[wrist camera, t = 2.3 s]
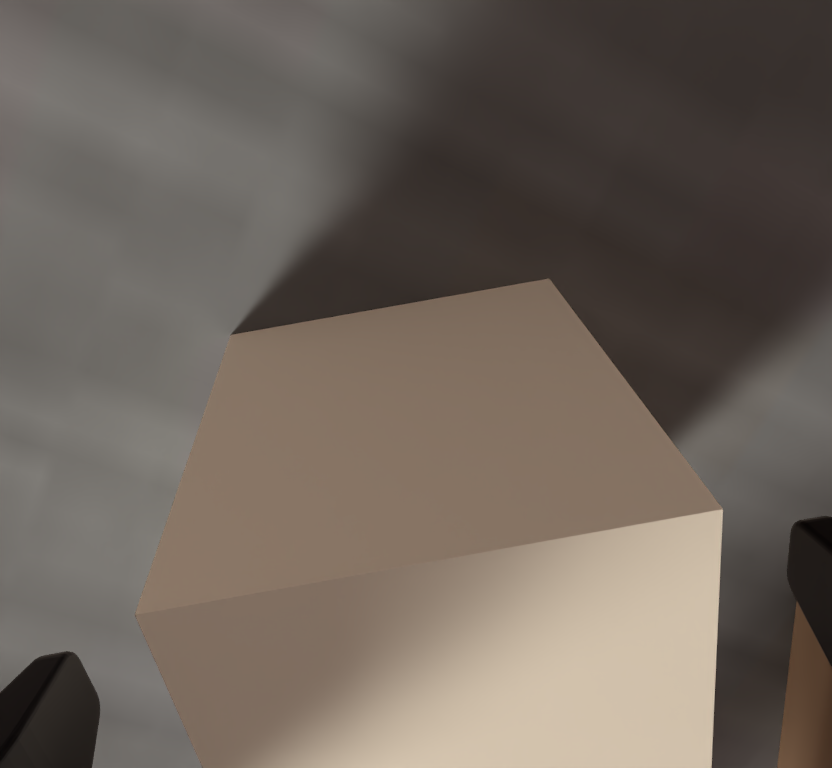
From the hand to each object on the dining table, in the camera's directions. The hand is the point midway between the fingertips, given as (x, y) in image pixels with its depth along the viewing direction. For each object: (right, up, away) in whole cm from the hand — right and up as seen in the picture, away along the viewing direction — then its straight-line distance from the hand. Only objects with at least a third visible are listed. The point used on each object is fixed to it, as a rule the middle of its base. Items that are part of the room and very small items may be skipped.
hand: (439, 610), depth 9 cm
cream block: (0, +2, +3) cm, 4 cm away
